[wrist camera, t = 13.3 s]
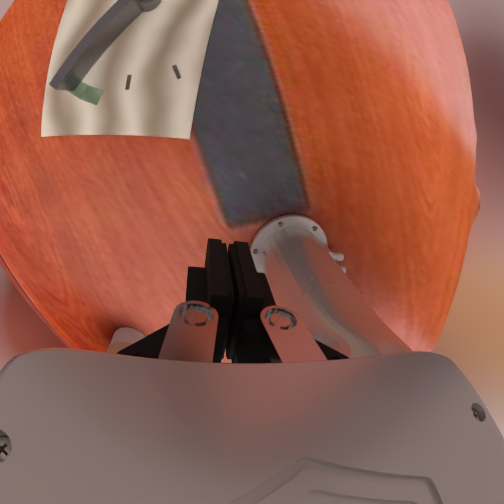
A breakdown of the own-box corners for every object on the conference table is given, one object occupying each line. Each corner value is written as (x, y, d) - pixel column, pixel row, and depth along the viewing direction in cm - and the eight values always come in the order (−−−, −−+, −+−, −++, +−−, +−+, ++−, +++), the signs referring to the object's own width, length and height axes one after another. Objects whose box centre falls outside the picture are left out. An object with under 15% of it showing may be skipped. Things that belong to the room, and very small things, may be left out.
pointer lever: (148, -14, 20) (141, -29, 15) (167, -3, 21) (162, -18, 17) (62, 82, 24) (43, 80, 19) (78, 94, 25) (61, 93, 21)
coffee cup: (100, 336, 46) (83, 399, 33) (124, 315, 45) (108, 382, 32) (134, 360, 51) (126, 421, 38) (161, 341, 49) (156, 408, 36)
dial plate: (221, -8, 23) (222, -13, 22) (190, 138, 33) (189, 139, 32) (73, -1, 18) (68, -5, 17) (46, 135, 28) (40, 136, 27)
